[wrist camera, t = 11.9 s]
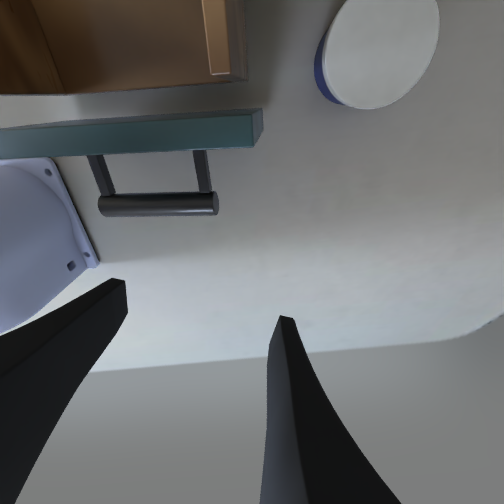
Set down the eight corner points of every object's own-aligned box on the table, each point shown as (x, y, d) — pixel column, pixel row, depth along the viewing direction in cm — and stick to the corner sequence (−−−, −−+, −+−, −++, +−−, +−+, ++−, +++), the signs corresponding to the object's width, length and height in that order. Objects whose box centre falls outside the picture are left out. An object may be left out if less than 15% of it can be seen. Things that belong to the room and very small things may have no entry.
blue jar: (310, 107, 15) (320, 112, 11) (315, 15, 13) (330, -21, 9) (383, 103, 15) (422, 106, 11) (401, 6, 12) (457, -36, 8)
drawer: (265, 197, 17) (258, 237, 12) (98, 200, 19) (33, 238, 14) (245, -400, 8) (177, -1284, 3) (-95, -293, 9) (-532, -742, 4)
